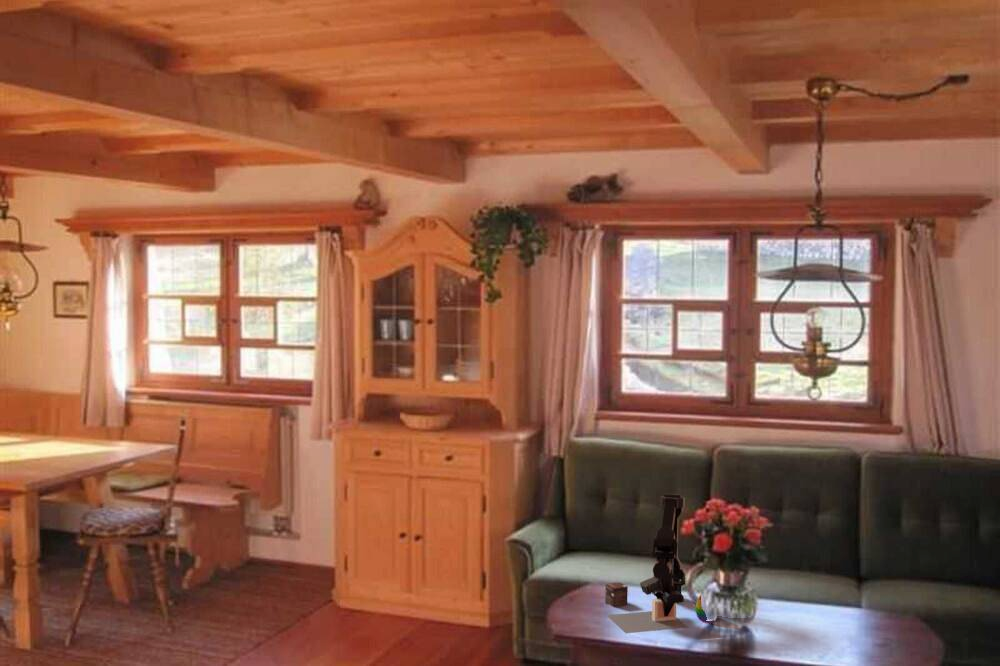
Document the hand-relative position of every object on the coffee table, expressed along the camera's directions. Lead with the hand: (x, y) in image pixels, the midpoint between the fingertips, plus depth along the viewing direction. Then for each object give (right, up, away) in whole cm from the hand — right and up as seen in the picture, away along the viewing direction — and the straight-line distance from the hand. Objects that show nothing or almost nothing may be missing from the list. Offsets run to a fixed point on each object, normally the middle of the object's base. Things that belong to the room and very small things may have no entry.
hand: (664, 614), depth 336 cm
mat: (-6, -2, -2) cm, 7 cm away
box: (-15, -1, +17) cm, 22 cm away
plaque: (0, -2, 0) cm, 2 cm away
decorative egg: (+15, -2, +1) cm, 15 cm away
